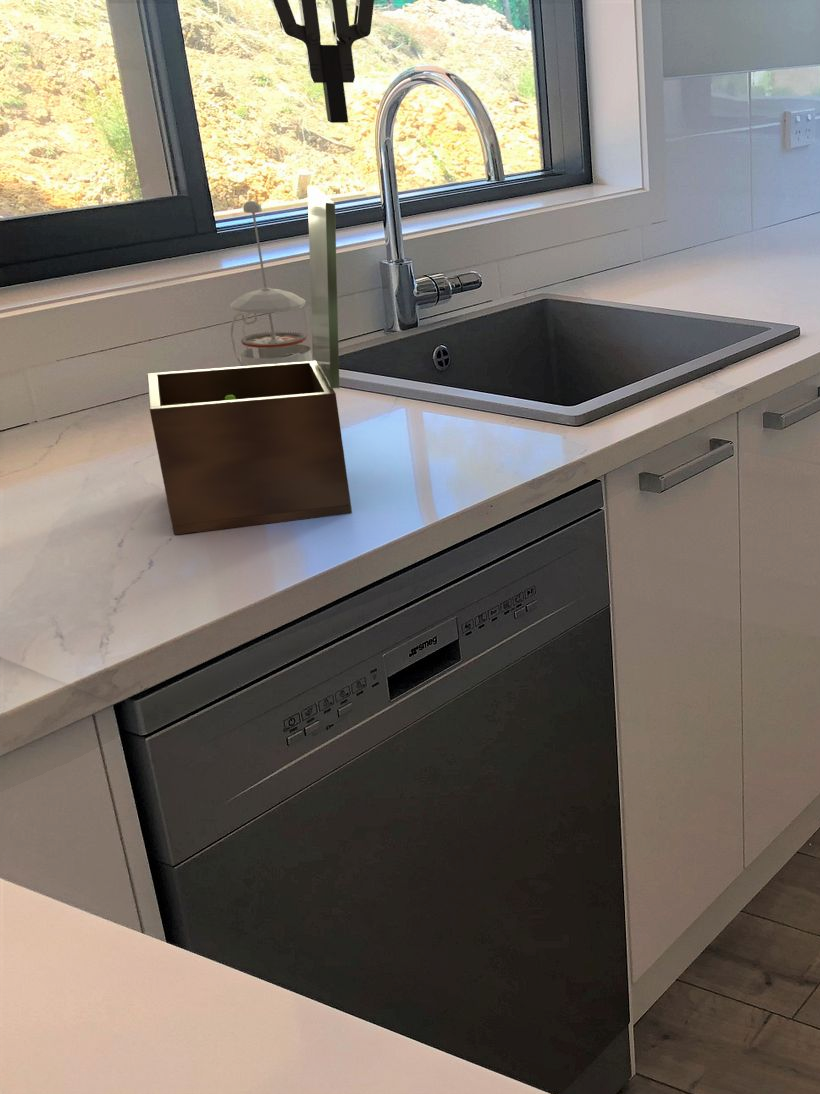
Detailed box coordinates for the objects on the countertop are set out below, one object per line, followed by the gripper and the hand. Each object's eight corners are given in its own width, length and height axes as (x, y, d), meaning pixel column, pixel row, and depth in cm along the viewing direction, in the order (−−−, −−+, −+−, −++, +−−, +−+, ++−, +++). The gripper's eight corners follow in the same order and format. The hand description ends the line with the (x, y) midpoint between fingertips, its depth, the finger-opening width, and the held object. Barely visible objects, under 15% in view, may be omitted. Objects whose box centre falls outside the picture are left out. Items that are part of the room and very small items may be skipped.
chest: (173, 535, 129) (149, 409, 124) (169, 489, 141) (147, 373, 136) (352, 513, 135) (335, 393, 130) (333, 472, 147) (317, 360, 142)
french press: (279, 434, 160) (241, 208, 149) (215, 420, 165) (174, 201, 155) (348, 416, 167) (316, 199, 157) (284, 402, 173) (250, 192, 163)
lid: (325, 202, 124) (335, 203, 124) (307, 185, 136) (316, 186, 136) (330, 388, 130) (339, 388, 130) (312, 355, 142) (321, 356, 142)
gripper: (220, -183, 113) (266, 125, 123) (386, -172, 118) (417, 123, 128) (214, -173, 119) (258, 120, 129) (372, -163, 124) (403, 117, 134)
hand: (337, 121), depth 128 cm, fingers closed
